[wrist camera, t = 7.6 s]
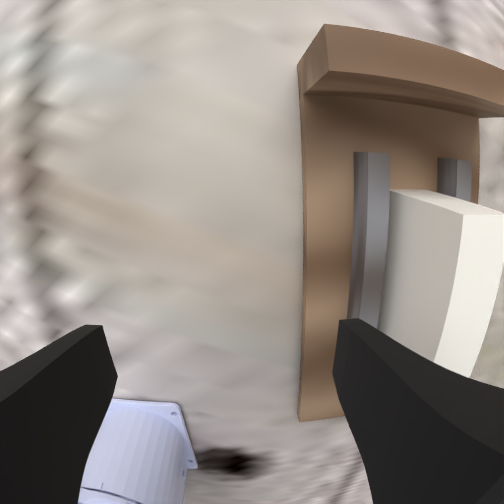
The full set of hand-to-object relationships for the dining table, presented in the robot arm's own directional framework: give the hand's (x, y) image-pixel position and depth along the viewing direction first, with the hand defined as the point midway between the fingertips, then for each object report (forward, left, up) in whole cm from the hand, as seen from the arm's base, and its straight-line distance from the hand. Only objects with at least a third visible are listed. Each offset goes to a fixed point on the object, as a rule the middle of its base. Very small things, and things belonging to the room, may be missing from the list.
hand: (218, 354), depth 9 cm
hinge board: (-1, -10, -9) cm, 14 cm away
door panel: (-1, -10, -8) cm, 13 cm away
